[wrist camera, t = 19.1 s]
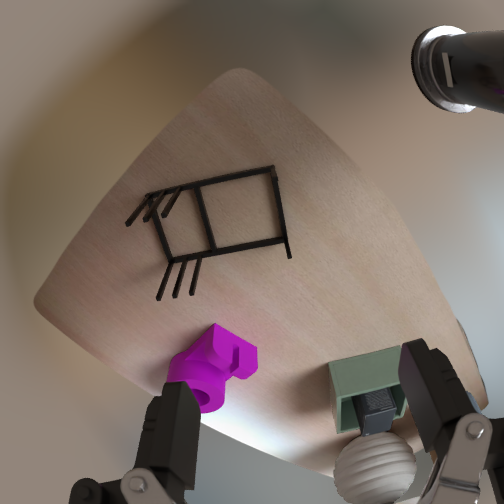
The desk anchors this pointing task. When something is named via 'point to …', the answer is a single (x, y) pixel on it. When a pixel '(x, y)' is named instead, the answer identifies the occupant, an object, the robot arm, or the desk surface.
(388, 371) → the green storage bin
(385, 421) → the box
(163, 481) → the robot arm
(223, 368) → the magenta mechanical bracket
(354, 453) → the table lamp
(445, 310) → the desk surface
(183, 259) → the rack
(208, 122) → the desk surface
